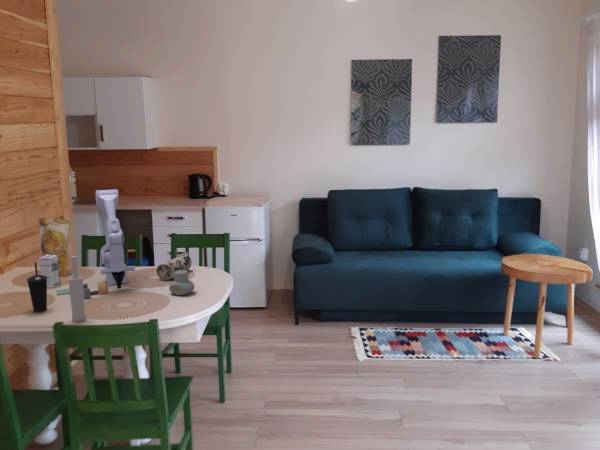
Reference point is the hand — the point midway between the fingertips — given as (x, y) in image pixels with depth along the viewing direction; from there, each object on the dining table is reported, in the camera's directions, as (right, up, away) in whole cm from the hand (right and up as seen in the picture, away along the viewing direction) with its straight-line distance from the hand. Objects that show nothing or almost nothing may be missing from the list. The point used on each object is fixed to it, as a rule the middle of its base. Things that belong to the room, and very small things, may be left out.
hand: (119, 288), depth 251 cm
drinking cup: (-24, -7, -25) cm, 35 cm away
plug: (-8, -2, -4) cm, 10 cm away
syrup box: (-34, 0, +9) cm, 35 cm away
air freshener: (+29, -2, -4) cm, 30 cm away
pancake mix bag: (-41, +3, +29) cm, 50 cm away
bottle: (-4, -8, -36) cm, 37 cm away
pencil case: (+20, +3, +25) cm, 32 cm away
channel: (-14, -3, -7) cm, 16 cm away
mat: (-24, -2, 0) cm, 24 cm away
